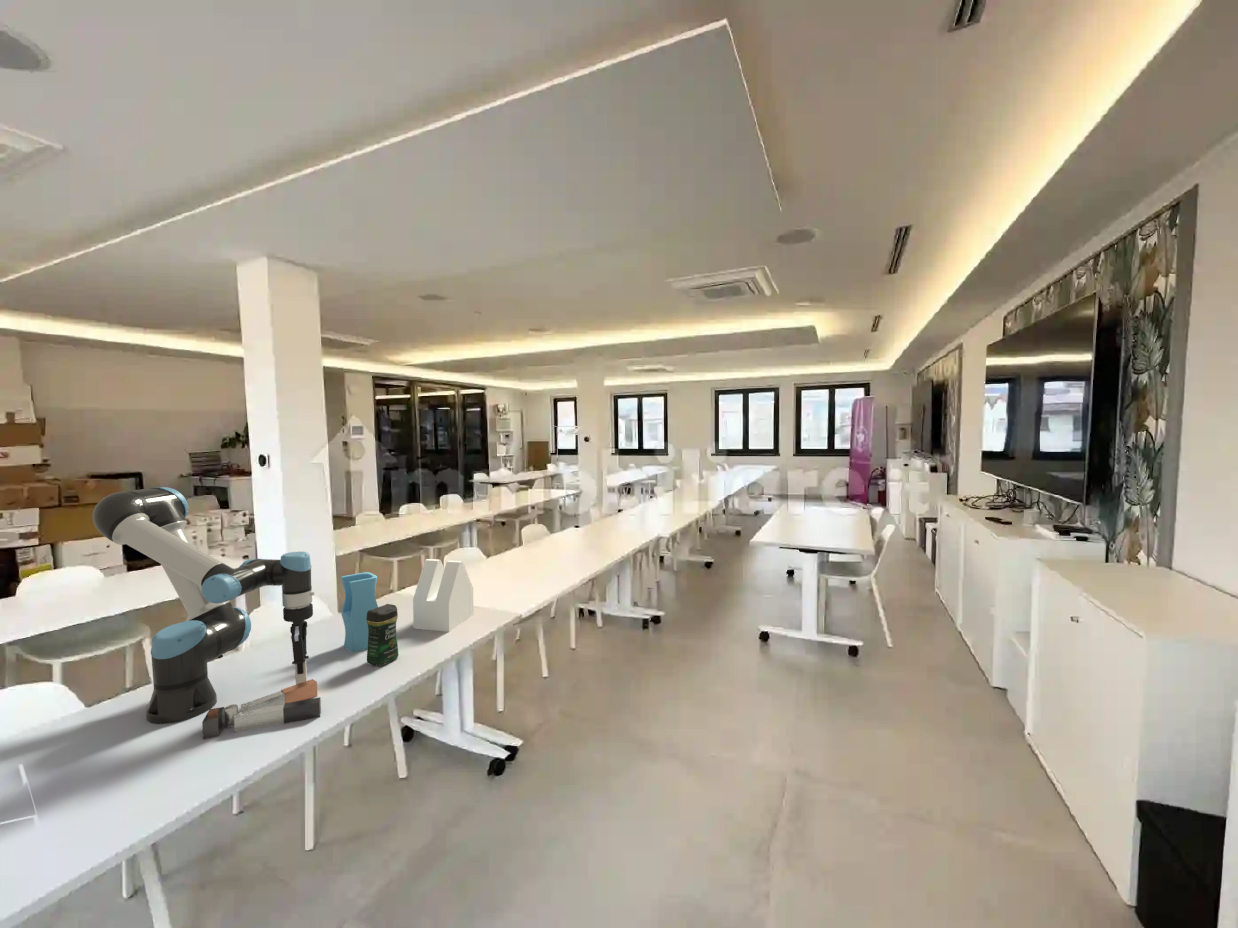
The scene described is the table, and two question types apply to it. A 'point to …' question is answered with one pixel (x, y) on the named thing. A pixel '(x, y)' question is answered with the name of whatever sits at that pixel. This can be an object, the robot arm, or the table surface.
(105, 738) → the table surface
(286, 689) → the tongs arm
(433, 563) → the white slotted block
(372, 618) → the coffee jar
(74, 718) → the table surface
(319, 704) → the tongs fixed
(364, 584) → the vase
